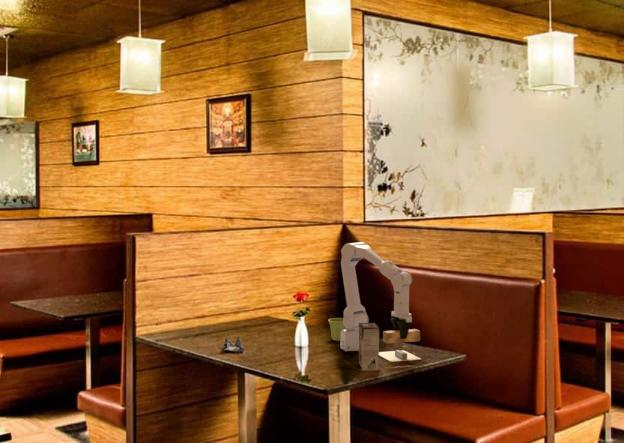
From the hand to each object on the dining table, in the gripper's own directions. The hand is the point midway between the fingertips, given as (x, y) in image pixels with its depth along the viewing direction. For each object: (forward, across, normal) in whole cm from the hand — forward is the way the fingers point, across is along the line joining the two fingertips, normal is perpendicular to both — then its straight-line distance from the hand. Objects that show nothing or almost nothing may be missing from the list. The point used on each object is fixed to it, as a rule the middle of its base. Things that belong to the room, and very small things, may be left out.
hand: (401, 337), depth 313 cm
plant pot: (+9, +42, +10) cm, 44 cm away
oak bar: (+1, 0, 0) cm, 1 cm away
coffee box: (+9, -8, +17) cm, 21 cm away
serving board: (+9, +3, 0) cm, 9 cm away
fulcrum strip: (+9, 0, 0) cm, 9 cm away
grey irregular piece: (+9, +36, +58) cm, 69 cm away
